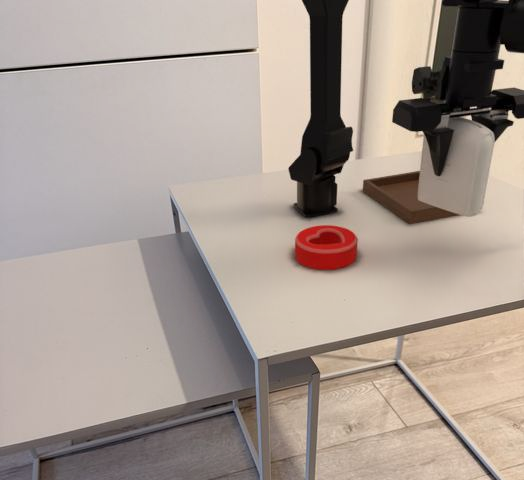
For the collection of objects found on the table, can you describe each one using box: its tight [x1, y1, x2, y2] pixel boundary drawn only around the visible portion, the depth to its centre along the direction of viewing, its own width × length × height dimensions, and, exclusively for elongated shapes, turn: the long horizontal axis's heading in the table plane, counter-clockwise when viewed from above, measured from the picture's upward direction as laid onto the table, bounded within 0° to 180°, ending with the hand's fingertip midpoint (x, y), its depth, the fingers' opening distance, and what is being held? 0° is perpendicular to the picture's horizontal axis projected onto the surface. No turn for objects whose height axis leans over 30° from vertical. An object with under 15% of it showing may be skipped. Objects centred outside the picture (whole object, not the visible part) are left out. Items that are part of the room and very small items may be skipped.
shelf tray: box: [362, 170, 460, 225], centre depth 101 cm, size 14×18×2 cm
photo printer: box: [418, 117, 496, 218], centre depth 76 cm, size 10×4×12 cm, turn 35°
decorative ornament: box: [294, 224, 359, 271], centre depth 84 cm, size 10×10×3 cm
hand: (454, 173), depth 77 cm, fingers closed on photo printer, 5 cm apart
